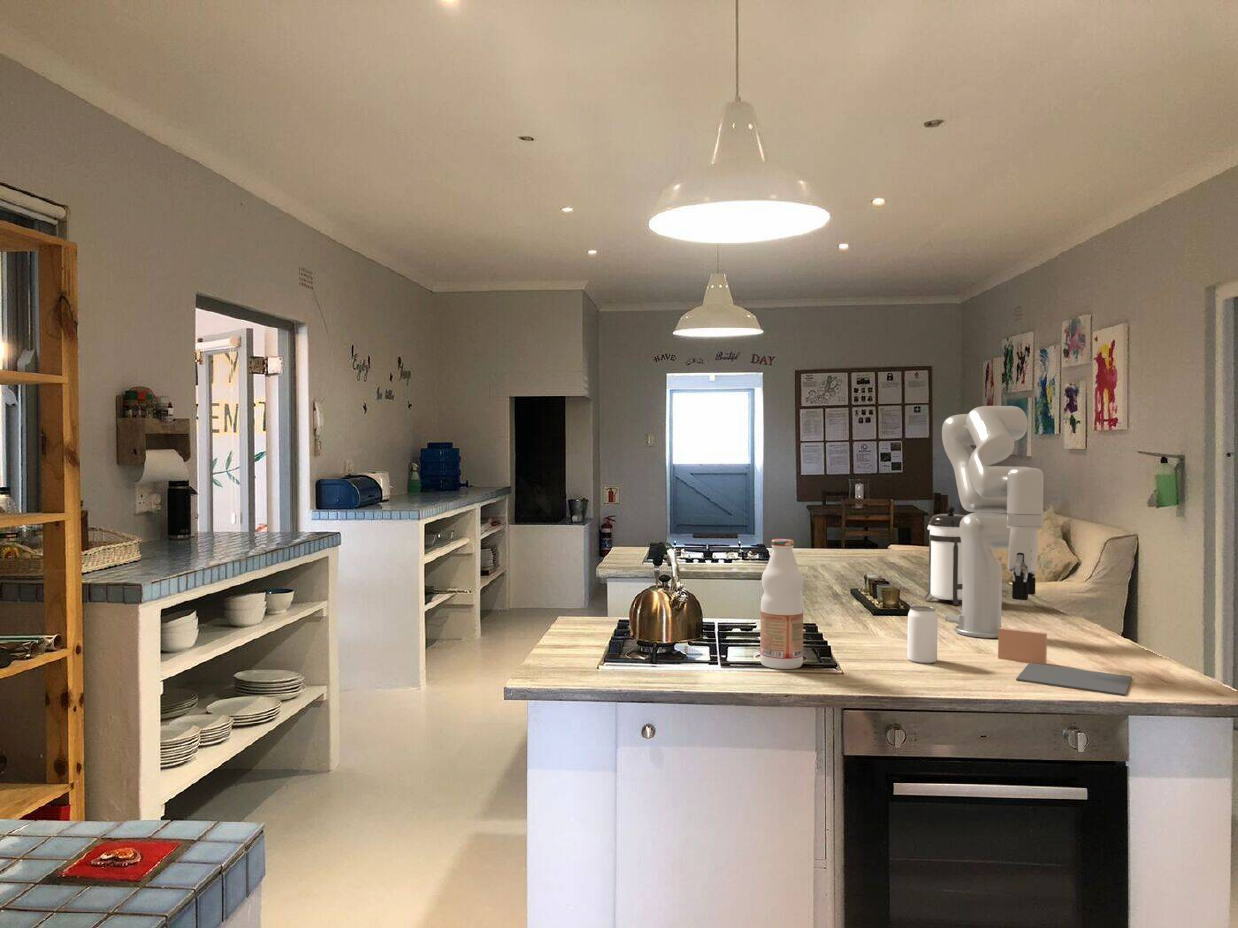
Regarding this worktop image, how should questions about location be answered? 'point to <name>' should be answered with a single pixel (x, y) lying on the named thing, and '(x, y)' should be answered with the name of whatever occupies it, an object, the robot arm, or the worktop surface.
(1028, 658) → the block
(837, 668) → the worktop surface
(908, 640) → the can
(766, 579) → the fruit juice
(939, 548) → the coffee press
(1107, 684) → the mat
